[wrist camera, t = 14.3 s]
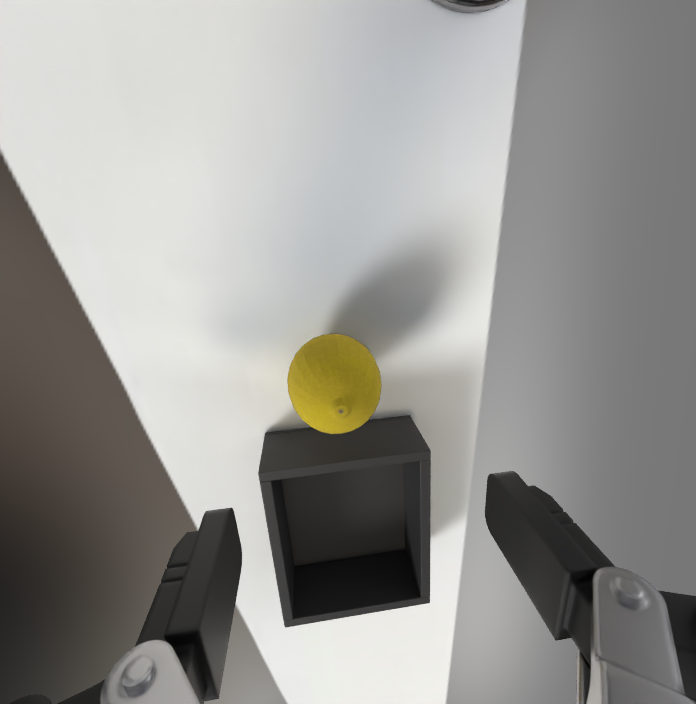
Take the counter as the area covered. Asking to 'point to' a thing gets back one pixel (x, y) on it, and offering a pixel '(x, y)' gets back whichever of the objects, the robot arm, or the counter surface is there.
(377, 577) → the tote
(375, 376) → the lemon
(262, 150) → the counter surface
